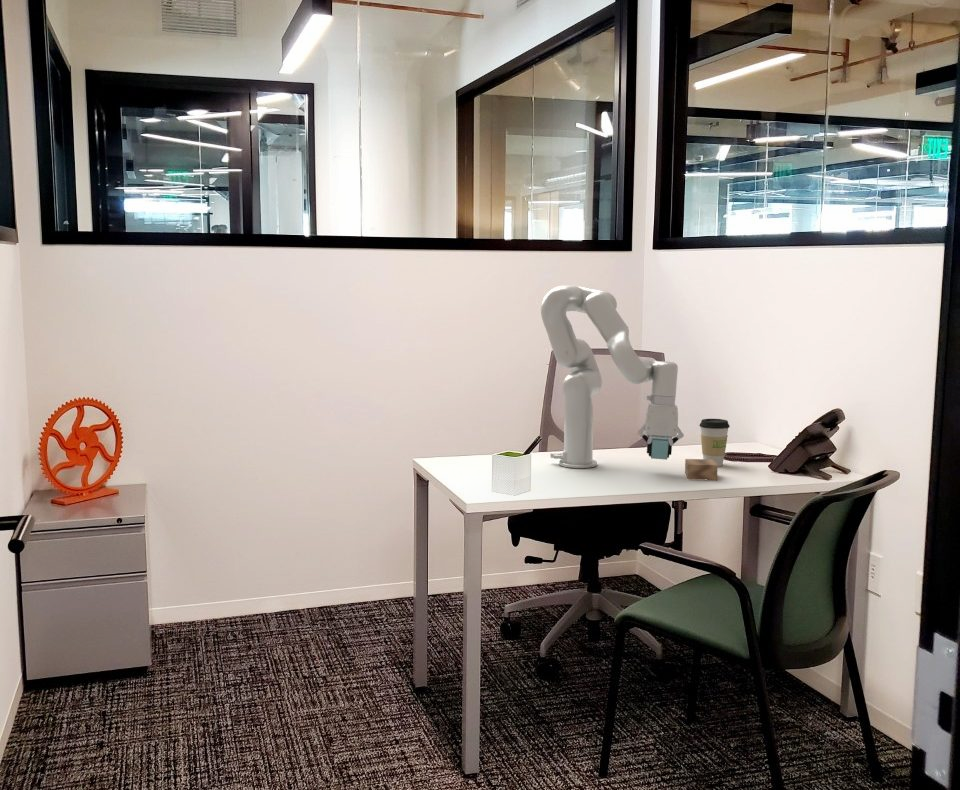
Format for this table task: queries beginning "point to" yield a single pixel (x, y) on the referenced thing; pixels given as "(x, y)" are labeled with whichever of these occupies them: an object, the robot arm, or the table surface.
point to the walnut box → (701, 469)
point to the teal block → (659, 448)
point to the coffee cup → (714, 439)
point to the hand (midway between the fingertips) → (658, 455)
